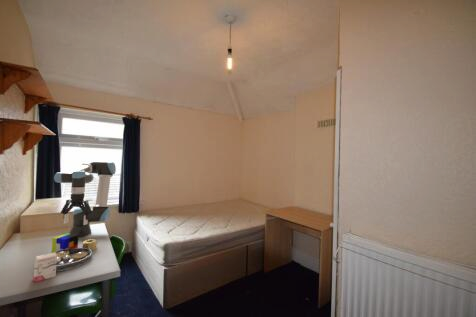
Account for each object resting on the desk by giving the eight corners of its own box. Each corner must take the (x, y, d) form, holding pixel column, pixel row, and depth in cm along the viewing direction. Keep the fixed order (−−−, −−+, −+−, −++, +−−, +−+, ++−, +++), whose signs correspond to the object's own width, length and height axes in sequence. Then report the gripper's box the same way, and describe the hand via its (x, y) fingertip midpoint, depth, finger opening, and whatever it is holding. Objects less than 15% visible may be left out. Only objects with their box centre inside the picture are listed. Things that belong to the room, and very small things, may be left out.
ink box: (33, 282, 106) (35, 259, 107) (32, 279, 109) (34, 256, 110) (56, 276, 113) (57, 254, 113) (54, 273, 116) (56, 251, 116)
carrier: (62, 252, 142) (63, 244, 142) (100, 253, 142) (101, 245, 142) (24, 271, 116) (25, 261, 116) (70, 273, 116) (71, 263, 116)
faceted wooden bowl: (87, 247, 152) (88, 238, 152) (98, 247, 152) (99, 239, 152) (79, 251, 144) (80, 243, 144) (91, 252, 144) (91, 243, 144)
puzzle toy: (63, 254, 139) (64, 239, 139) (51, 252, 141) (52, 237, 141) (77, 248, 149) (78, 234, 149) (66, 247, 151) (67, 233, 151)
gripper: (55, 193, 138) (53, 224, 138) (91, 194, 138) (89, 226, 137) (64, 191, 146) (62, 221, 145) (99, 193, 145) (97, 223, 145)
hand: (75, 224), depth 141 cm, fingers open, 13 cm apart
